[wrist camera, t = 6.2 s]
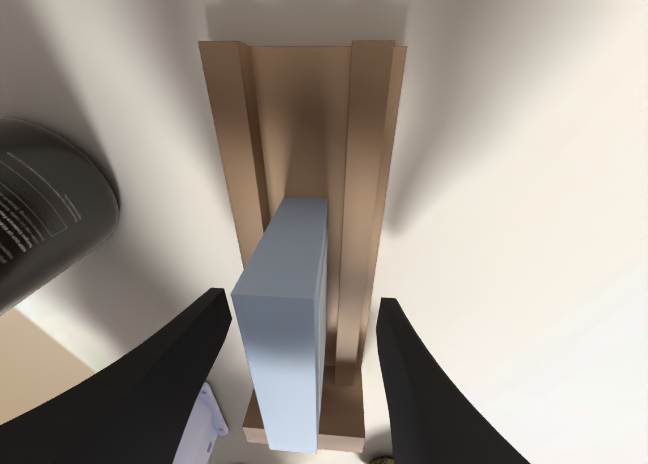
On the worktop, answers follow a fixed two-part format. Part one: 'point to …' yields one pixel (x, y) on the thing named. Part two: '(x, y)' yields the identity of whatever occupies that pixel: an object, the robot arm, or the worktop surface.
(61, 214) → the supplement bottle
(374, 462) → the onion
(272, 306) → the light blue flat block
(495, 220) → the worktop surface
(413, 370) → the robot arm
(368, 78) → the door track
